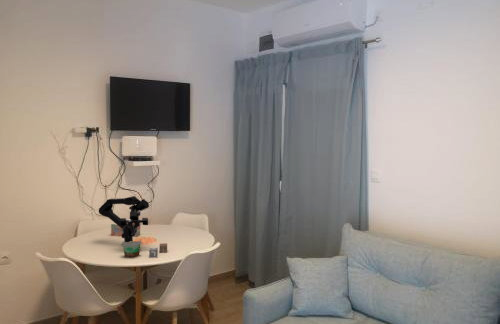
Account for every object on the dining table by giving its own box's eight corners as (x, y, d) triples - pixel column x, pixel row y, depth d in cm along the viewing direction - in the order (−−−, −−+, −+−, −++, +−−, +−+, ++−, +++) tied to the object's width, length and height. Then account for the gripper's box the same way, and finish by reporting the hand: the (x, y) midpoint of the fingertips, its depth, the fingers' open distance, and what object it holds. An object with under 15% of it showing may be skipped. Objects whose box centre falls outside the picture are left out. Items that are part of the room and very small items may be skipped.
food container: (121, 258, 237) (121, 243, 237) (122, 255, 243) (122, 240, 243) (141, 257, 240) (141, 242, 239) (141, 254, 246) (141, 239, 245)
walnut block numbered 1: (159, 250, 255) (159, 243, 255) (167, 250, 256) (167, 243, 256) (159, 253, 250) (159, 245, 250) (166, 252, 251) (167, 245, 251)
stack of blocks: (110, 235, 289) (110, 220, 288) (114, 233, 295) (114, 218, 294) (137, 237, 286) (137, 221, 285) (140, 235, 293) (140, 219, 292)
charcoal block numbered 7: (149, 255, 245) (149, 247, 245) (157, 254, 246) (157, 247, 246) (149, 257, 240) (149, 250, 240) (157, 257, 241) (157, 249, 241)
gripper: (119, 206, 252) (117, 226, 242) (148, 206, 255) (146, 226, 245) (121, 215, 260) (119, 235, 250) (148, 215, 264) (147, 234, 254)
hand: (133, 232), depth 249 cm, fingers closed
